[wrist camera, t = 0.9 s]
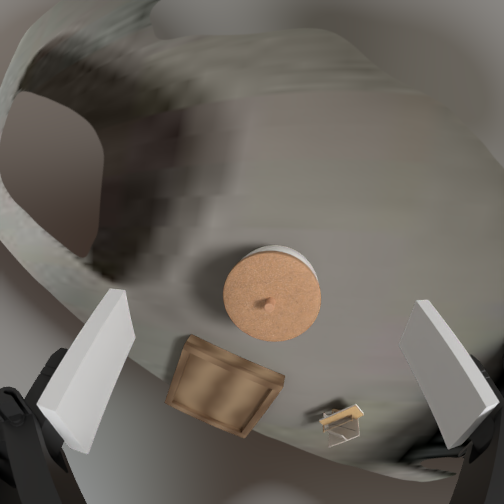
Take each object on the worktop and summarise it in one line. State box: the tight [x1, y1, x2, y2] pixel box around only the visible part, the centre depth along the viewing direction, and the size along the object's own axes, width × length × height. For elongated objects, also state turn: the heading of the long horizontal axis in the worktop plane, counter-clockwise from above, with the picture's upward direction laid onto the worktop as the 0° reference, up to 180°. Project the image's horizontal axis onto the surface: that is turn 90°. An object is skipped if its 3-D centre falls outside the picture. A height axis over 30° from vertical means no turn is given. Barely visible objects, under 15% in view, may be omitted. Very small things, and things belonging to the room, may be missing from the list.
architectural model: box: [319, 404, 364, 447], centre depth 41 cm, size 3×7×7 cm, turn 129°
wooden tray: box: [165, 334, 285, 438], centre depth 45 cm, size 16×16×3 cm
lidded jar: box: [223, 245, 321, 341], centre depth 34 cm, size 11×11×9 cm
